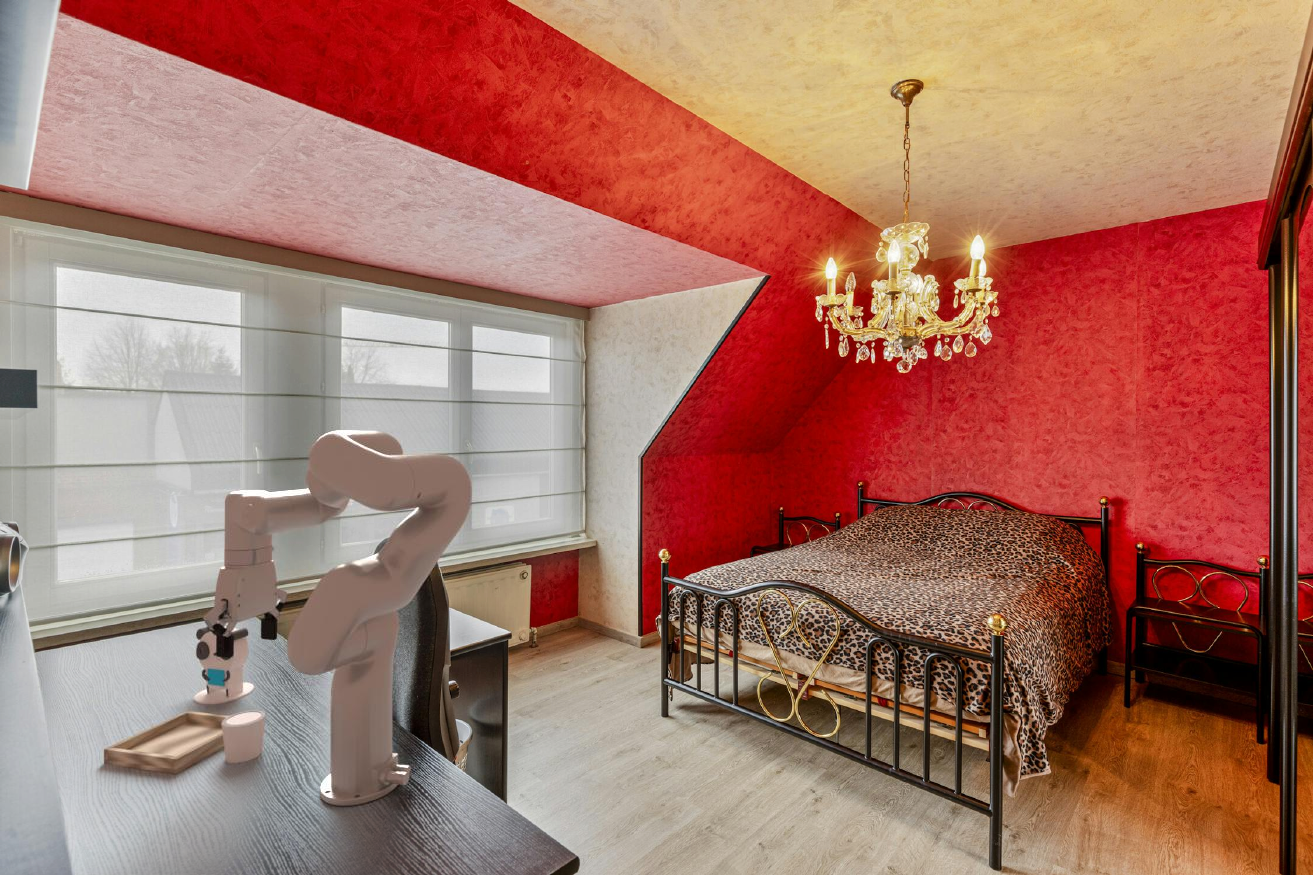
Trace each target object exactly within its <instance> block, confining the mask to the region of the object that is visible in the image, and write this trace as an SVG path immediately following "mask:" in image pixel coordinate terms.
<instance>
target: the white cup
mask: <svg viewBox="0 0 1313 875" xmlns="http://www.w3.org/2000/svg"><path fill="white" fill-rule="evenodd" d="M228 716H229V717H227V718H226V719H224V720H223V721H222V723H221V724H222V732H223V741H224V748H223V749H224V758H225V761H226V763H229V762H230V763H229V764H239V762H241V763H245V762H248V761H252V760H254V759H255V758H257V757H259V755H261V754H262V752H263V743H264V734H265V727H266V726H265V724H266V713H265V711H263V710H258V709H257V710H253V709H252V710H245V711H241V712H240V711H239V712H237V713H233V714H232V715H228ZM244 761H245V762H244Z"/></svg>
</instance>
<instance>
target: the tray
mask: <svg viewBox="0 0 1313 875" xmlns="http://www.w3.org/2000/svg"><path fill="white" fill-rule="evenodd" d="M229 716H230V715H225V714H215V713H208V712H200V711H189V710H187V711H184V712H181V713H180V714H178V715H177V714H176V715H175V716H173V717H171V718H169V719H166V720H164V721H162V722H160V723H158V724H156V725H154V726H151V727H150V728H147V729H145V730H143V731H141V732H138V733H137V734H134V735H131V736H130V737H128V738H126V739H124V740H121V741H119V742H116V743H115V744H112V745H111V746H108V747H106V748H104V749H103V764H104V765H105V764H106V765H112V766H116V767H117V766H118V767H124V768H125V767H126V768H132V769H139V770H146V771H153V772H158V773H159V772H160V773H166V774H173V775H178V774H179V773H181V772H183V771H185V770H186V769H188V768H190V767H192V766H193V765H192V764H194V763H195V764H197V763H199V762H201V761H202V760H205V759H206V758H208V757H209V756H212V755H213V754H215V753H217V752H219V751H221V750H222V749H224V741H223V732H222V724H221V723H222V721H223V720H224V719H226V718H227V717H229ZM198 761H199V762H198ZM195 764H194V765H195ZM191 765H192V766H191ZM189 766H190V767H189ZM187 767H188V768H187ZM184 769H185V770H184ZM182 770H183V771H182Z"/></svg>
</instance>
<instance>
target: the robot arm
mask: <svg viewBox="0 0 1313 875" xmlns="http://www.w3.org/2000/svg"><path fill="white" fill-rule="evenodd" d="M308 456H309V457H308V464H309V467H308V468H307V470H306V474H305V484H306V487H307V488H303V489H294V490H293V489H292V490H280V491H272V492H269V491H267V490H261V489H253V490H252V489H249V490H248V489H246V490H237V491H232V492H230V493H228V494H227V495H226V497H225V500H224V552H223V553H224V558H223V560H224V562H223V563H224V564H223V565H224V566H223V567H222V566H221V567H220V569H219V571H218V576H217V579H216V580H217V581H216V585H215V592H214V605H213V607H212V608H211V609H210V610H209V611H208V612H207V613H206V614H205V615H203V618H202V619H203V621H204V624H205V625H206V627H207V628H208V630H209V631H211V632H212V634H213V635H215V636H216V656H217V657H224V658H231V657H233V655H234V635H230V634H231V632H232V631H233V629H234V628H236V625H237V624H238V623H242V622H244V621H247V620H250V619H254V618H256V617H260V616H263V617H262V618H261V619H260V639H262V640H267V641H268V640H269V641H275V640H277V639H278V619H280V617H281V612H282V610H283V608H284V606H285V601H286V599H287V596H288V592H287V591H286V590H285V591H284V590H281V589H279V588H278V579H277V572H276V566H275V561H274V560H273V552H274V551H275V548H274V546H273V535H276V534H282V533H285V532H293V531H294V532H295V531H301V530H308V529H312V528H315V527H317V526H318V527H319V526H321V525H323V524H325V523H327V522H328V521H331V520H332V519H334V518H336V517H339V515H341V514H343V512H345V511H346V509H347V507H348V505H349V502H350V500H353V501H355V502H356V503H358V504H360V505H363V506H364V507H367V508H368V509H371V510H375V511H379V512H396V511H403V510H409V509H410V510H411V509H414V510H413V511H412V512H411V513H410V514H409V515H408V516H407V517H405V518H404V519H403V520H402V521H401V522H400V523H398V525H397V526H396V527H395V528H394V530H393V531H392V533H391V534H390V536H389V538H388V539H387V540H386V542H385V544H384V545H383V546H382V547H381V549H380V550H379V551H378V552H377V553H375V554H373V555H369V556H368V557H364V558H361V559H357V560H351V561H347V562H345V563H342V564H339V565H337V566H335V567H333V568H332V569H330V570H329V571H328V572H326V574H325V575H324V576H323V577H322V578H320V580H319V582H318V583H317V584H316V586H315V587H314V589H313V591H312V593H311V594H310V596H309V597H308V599H307V601H306V602H305V604H304V605H303V607H302V609H301V610H300V612H299V613H298V615H297V617H296V618H295V620H294V621H293V624H292V626H291V628H290V631H289V633H288V636H287V641H286V642H287V643H286V652H287V653H286V654H287V658H288V661H289V663H290V665H291V666H292V668H293V669H294V670H296V671H297V672H299V673H300V674H302V675H308V676H318V675H322V674H327V673H328V672H331V671H334V673H333V674H332V675H333V676H332V680H331V685H330V774H328V776H326V777H325V778H324V779H323V780H322V782H321V783H320V787H319V796H320V798H321V800H323V801H324V802H325V803H327V804H330V805H332V806H341V807H346V806H347V807H348V806H357V805H361V804H362V805H363V804H367V803H369V802H372V801H375V800H377V799H380V798H382V797H384V796H386V795H388V794H390V793H391V792H392V791H393V790H395V788H396V787H398V785H401V786H406V785H407V784H408V783H409V780H410V773H411V769H412V766H411V765H409V764H400V762H399V753H398V752H397V753H396V752H393V689H394V688H393V684H394V682H393V681H394V680H393V679H394V678H393V676H394V675H393V674H394V672H393V671H394V670H393V669H394V658H395V653H396V652H395V651H396V646H397V642H398V641H397V640H398V636H399V629H400V619H399V615H398V611H399V610H400V609H402V608H404V607H405V606H407V605H408V604H410V602H411V601H412V600H413V599H414V597H415V596H416V594H417V593H418V592H419V590H420V588H421V587H422V586H423V584H424V582H425V581H426V579H427V578H428V577H429V575H430V574H431V572H432V571H433V569H434V568H435V566H436V565H437V563H438V561H439V560H440V559H441V557H442V555H443V553H444V552H445V551H446V549H447V548H448V547H449V545H450V544H451V543H452V541H453V540H454V539H455V537H456V536H457V534H458V533H459V531H460V530H461V529H462V526H463V525H464V523H465V521H466V519H467V517H468V514H469V511H470V510H471V506H472V496H473V495H472V494H473V493H472V491H473V490H472V483H471V478H470V476H469V472H468V471H467V469H466V467H465V466H464V465H463V463H461V462H460V460H458V459H456V458H455V457H453V456H449V455H446V454H440V453H415V454H414V453H413V454H411V453H410V454H409V453H408V454H404V450H403V448H402V445H401V444H400V442H399V441H398V440H397V439H396V438H395V437H394V436H392V435H391V434H389V433H386V432H383V431H379V430H334V431H330V432H327V433H325V434H323V435H322V436H320V437H319V438H318V439H317V440H316V441H315V442H314V443H313V445H312V446H311V448H310V452H309V454H308ZM224 627H226V628H224Z"/></svg>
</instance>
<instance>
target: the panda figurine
mask: <svg viewBox="0 0 1313 875" xmlns="http://www.w3.org/2000/svg"><path fill="white" fill-rule="evenodd" d="M207 627H208V626H206V627H205V626H204V627H202V628H198V629H197V631H196V633H195V635H196V639H197V640H199V642H198V643H197V644H196V647H195V648H196V649H195V655H196V659H198V660H199V663H200V664H201V666H202V668H203V669H202V671H201V676H202V679H203V680H204V681H205V683H206V688H205V689H203V690H201V691H199V692H197V693H196V694H195V695H194V697H193V701H194V702H195V704H198V705H199V704H200V705H216V704H223V703H227V702H228V703H229V702H231V701H235V700H238V699H242V698H243V697H246V696H249V694H252V692H253V691H254V689H255V687H254V684H252V683H251V682H244V675H243V674H244V671H243V670H244V669H243V668H244V666H243V665H244V664H245V663H247V660H248V657H249V650H250V649H249V642H248V639H247V637H248V636H249V630H248V629H247V628H246V627H243V628H240V629H239V628H236V627H234V629H233V631H232V632H231V634H230V635H234V655H233V657H231V658H224V657H217V656H216V636H215V635H213V634H212V632H211V631H209V630H208V628H207ZM226 627H227V626H224V628H226Z"/></svg>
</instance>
